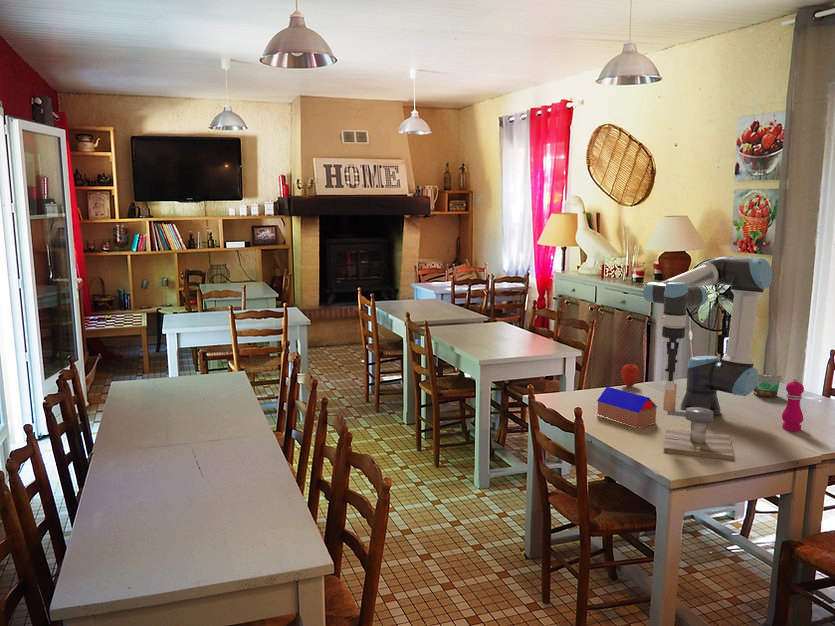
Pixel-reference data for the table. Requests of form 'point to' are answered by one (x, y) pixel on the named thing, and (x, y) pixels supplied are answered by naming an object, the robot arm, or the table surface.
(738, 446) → the table surface
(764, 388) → the food container
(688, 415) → the crank handle
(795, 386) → the pepper mill
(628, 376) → the apple
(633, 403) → the house
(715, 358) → the robot arm
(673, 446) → the post base
